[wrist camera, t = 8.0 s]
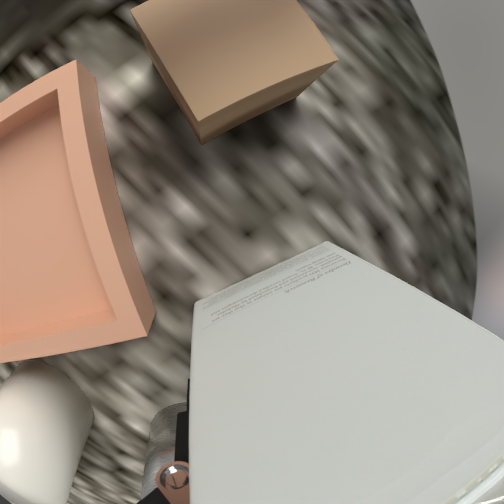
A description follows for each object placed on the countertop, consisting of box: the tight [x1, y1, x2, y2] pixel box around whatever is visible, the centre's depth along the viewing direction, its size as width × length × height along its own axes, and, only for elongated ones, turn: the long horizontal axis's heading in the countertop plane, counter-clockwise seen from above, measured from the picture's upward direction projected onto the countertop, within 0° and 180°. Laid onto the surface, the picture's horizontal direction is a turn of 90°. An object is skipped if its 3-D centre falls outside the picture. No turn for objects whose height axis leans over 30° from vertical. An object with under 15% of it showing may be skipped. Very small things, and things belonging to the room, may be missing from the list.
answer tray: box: [0, 60, 156, 363], centre depth 10 cm, size 12×12×2 cm
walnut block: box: [130, 0, 338, 145], centre depth 9 cm, size 5×5×5 cm
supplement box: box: [189, 241, 504, 504], centre depth 9 cm, size 7×7×13 cm
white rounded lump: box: [0, 360, 94, 504], centre depth 10 cm, size 6×6×8 cm
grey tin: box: [141, 402, 187, 500], centre depth 13 cm, size 6×6×6 cm
